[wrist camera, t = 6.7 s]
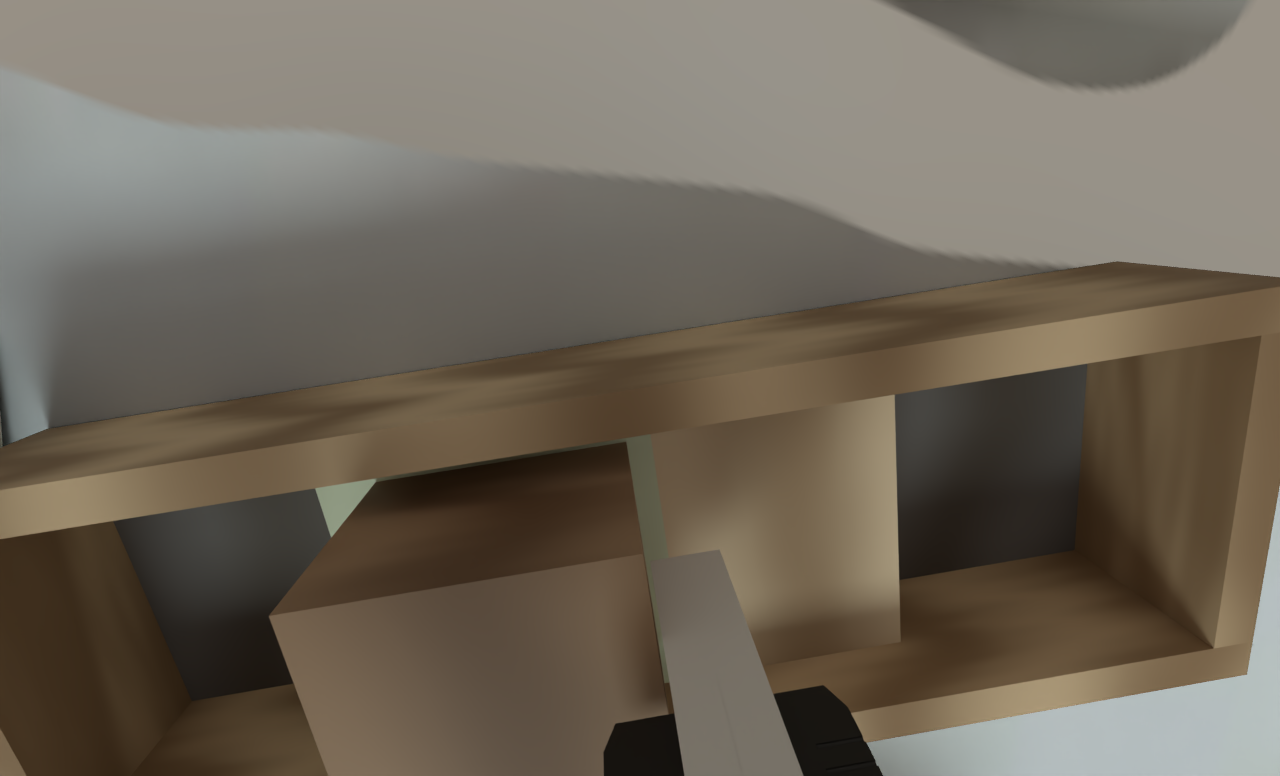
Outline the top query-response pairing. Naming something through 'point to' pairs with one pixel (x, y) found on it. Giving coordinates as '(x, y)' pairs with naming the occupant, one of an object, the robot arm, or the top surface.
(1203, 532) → the wooden cubby shelf
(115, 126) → the top surface
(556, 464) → the walnut block
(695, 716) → the robot arm
